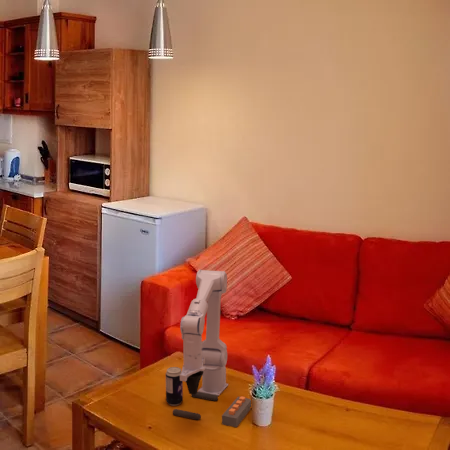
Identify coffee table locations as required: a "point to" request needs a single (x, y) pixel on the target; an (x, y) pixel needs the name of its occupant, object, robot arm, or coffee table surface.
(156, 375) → the coffee table surface
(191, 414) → the cord
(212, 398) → the cord
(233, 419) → the breaker strip
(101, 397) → the coffee table surface
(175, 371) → the beverage can
